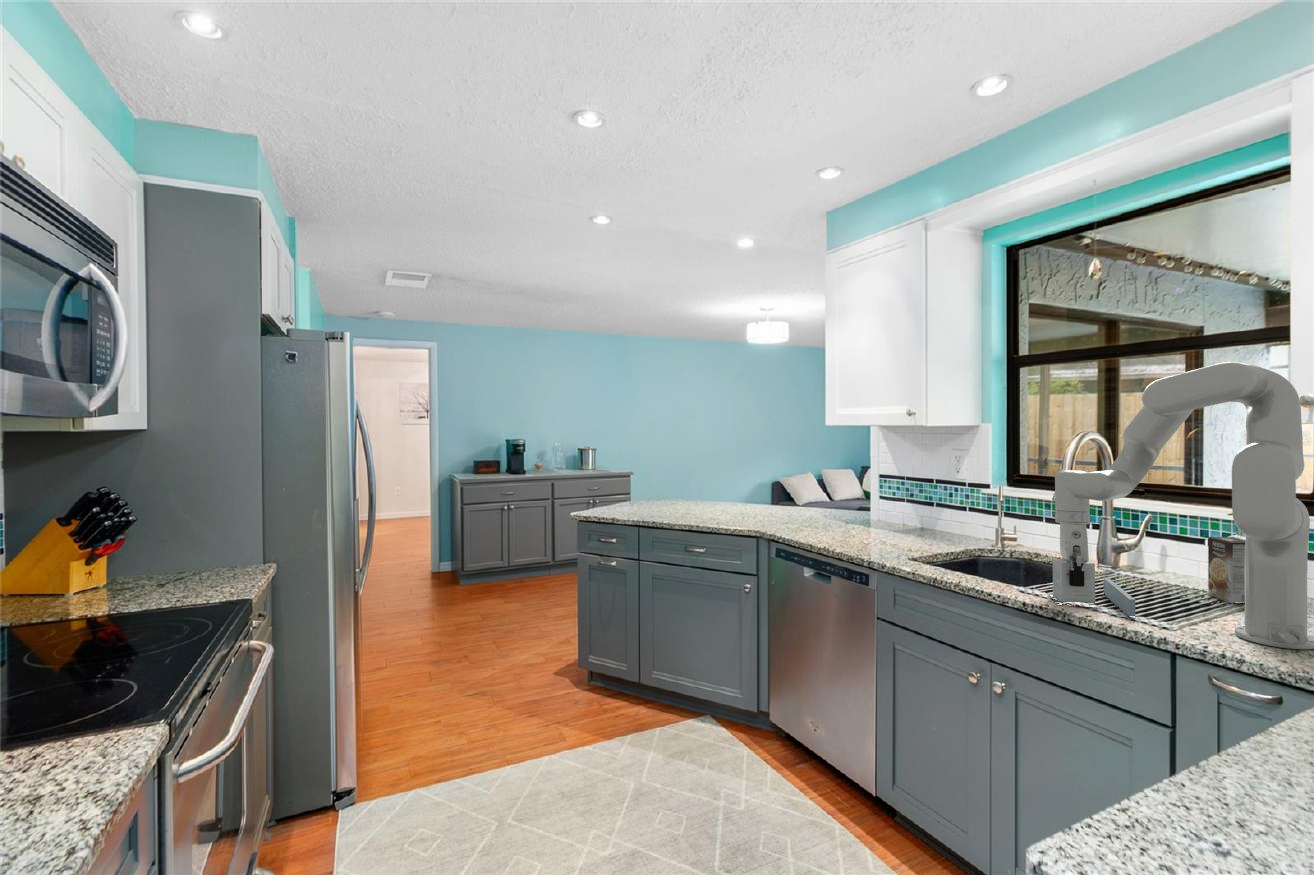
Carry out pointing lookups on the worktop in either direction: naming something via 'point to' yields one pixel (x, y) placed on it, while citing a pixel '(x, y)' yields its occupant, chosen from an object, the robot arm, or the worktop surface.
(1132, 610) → the low wall
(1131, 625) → the worktop surface
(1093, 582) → the small box
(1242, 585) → the coffee box
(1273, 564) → the robot arm
